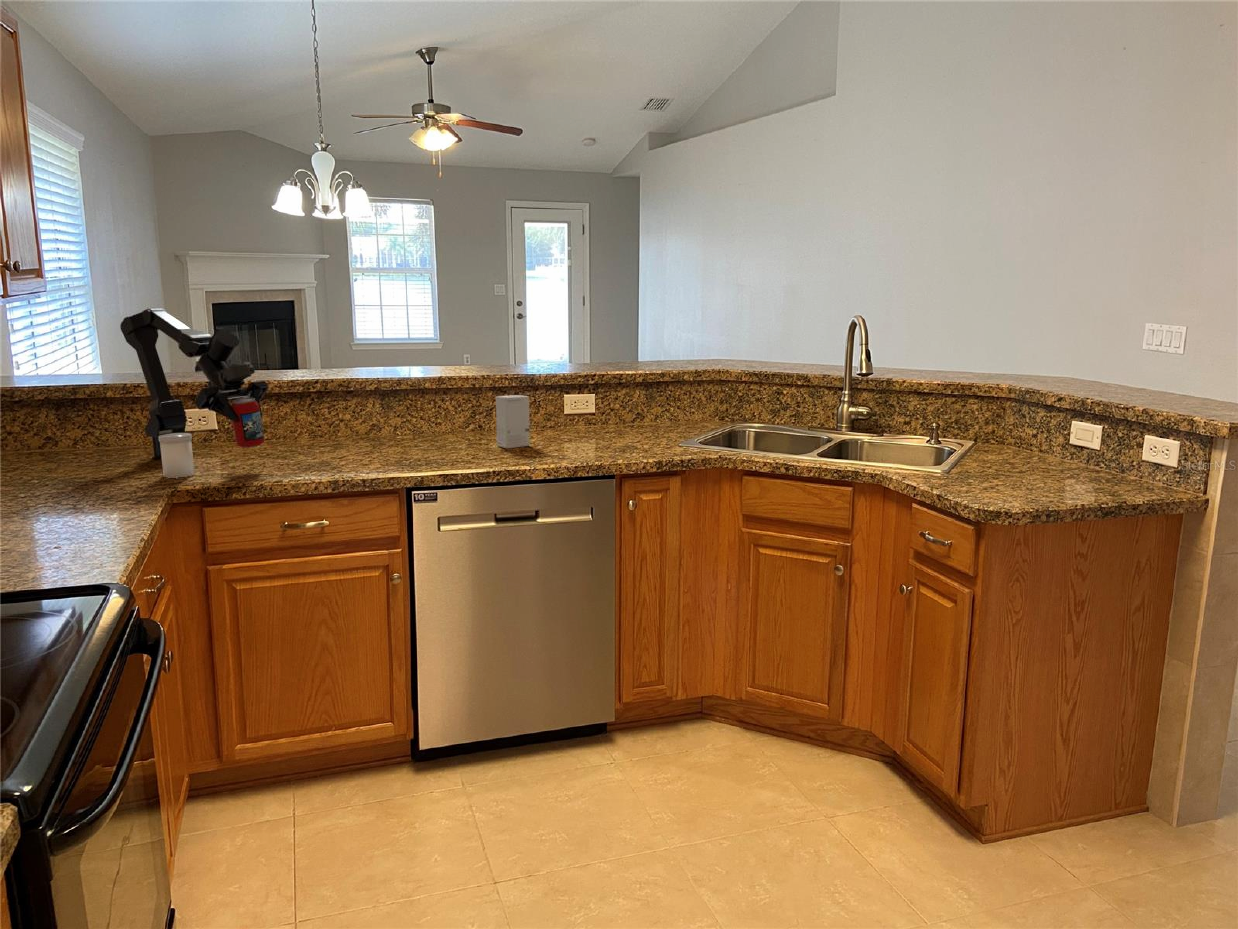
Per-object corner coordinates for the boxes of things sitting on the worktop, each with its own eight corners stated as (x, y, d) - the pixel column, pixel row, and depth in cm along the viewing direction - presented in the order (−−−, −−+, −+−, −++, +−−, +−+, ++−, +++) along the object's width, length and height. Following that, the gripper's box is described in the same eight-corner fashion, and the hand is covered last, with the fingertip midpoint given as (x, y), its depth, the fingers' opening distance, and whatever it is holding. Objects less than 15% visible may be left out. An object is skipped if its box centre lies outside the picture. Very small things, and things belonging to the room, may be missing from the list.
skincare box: (506, 449, 259) (505, 398, 255) (495, 446, 263) (494, 395, 260) (531, 445, 264) (530, 395, 261) (520, 442, 268) (518, 393, 265)
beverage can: (255, 449, 227) (247, 402, 224) (231, 448, 229) (223, 402, 225) (270, 441, 234) (263, 396, 230) (247, 441, 235) (239, 397, 231)
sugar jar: (157, 479, 221) (153, 438, 219) (169, 472, 228) (165, 433, 226) (189, 478, 222) (184, 437, 220) (199, 472, 229) (195, 432, 227)
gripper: (197, 355, 219) (230, 403, 216) (261, 349, 235) (293, 394, 232) (180, 385, 225) (212, 432, 222) (243, 377, 241) (274, 422, 238)
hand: (249, 419), depth 228 cm, fingers closed on beverage can, 6 cm apart
